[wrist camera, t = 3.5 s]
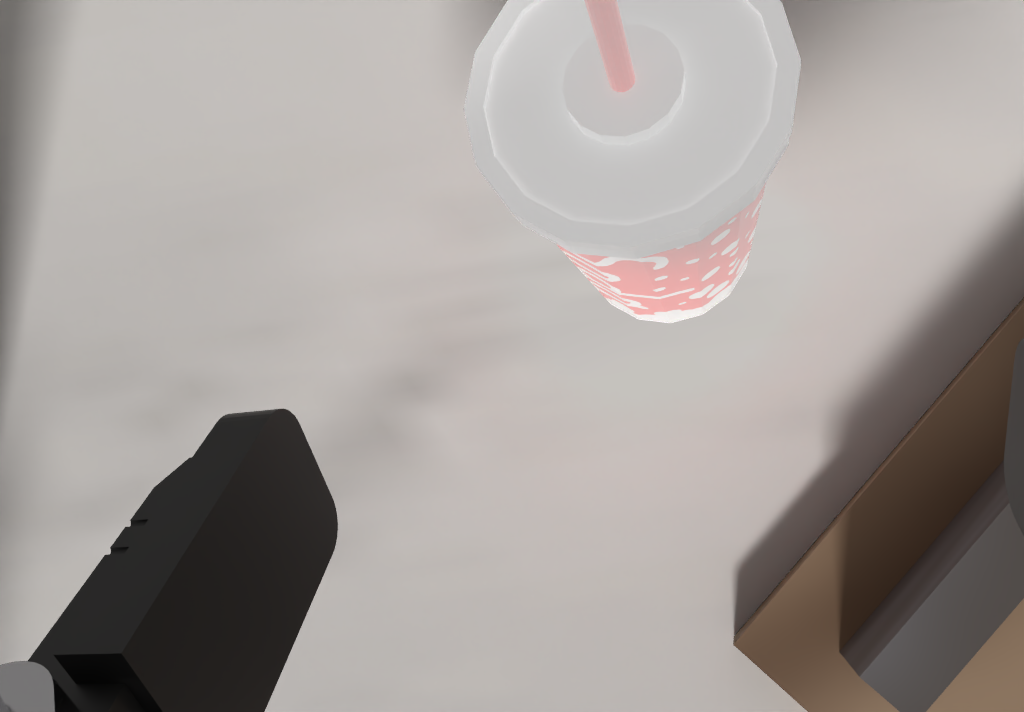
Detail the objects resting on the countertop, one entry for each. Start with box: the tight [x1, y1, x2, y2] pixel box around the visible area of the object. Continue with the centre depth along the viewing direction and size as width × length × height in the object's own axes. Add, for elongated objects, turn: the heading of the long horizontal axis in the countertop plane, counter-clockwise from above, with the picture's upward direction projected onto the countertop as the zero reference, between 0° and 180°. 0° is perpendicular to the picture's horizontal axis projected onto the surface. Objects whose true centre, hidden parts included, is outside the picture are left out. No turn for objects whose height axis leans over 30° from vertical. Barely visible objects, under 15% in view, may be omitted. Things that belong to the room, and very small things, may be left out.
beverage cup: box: [464, 0, 801, 323], centre depth 17 cm, size 6×6×14 cm
